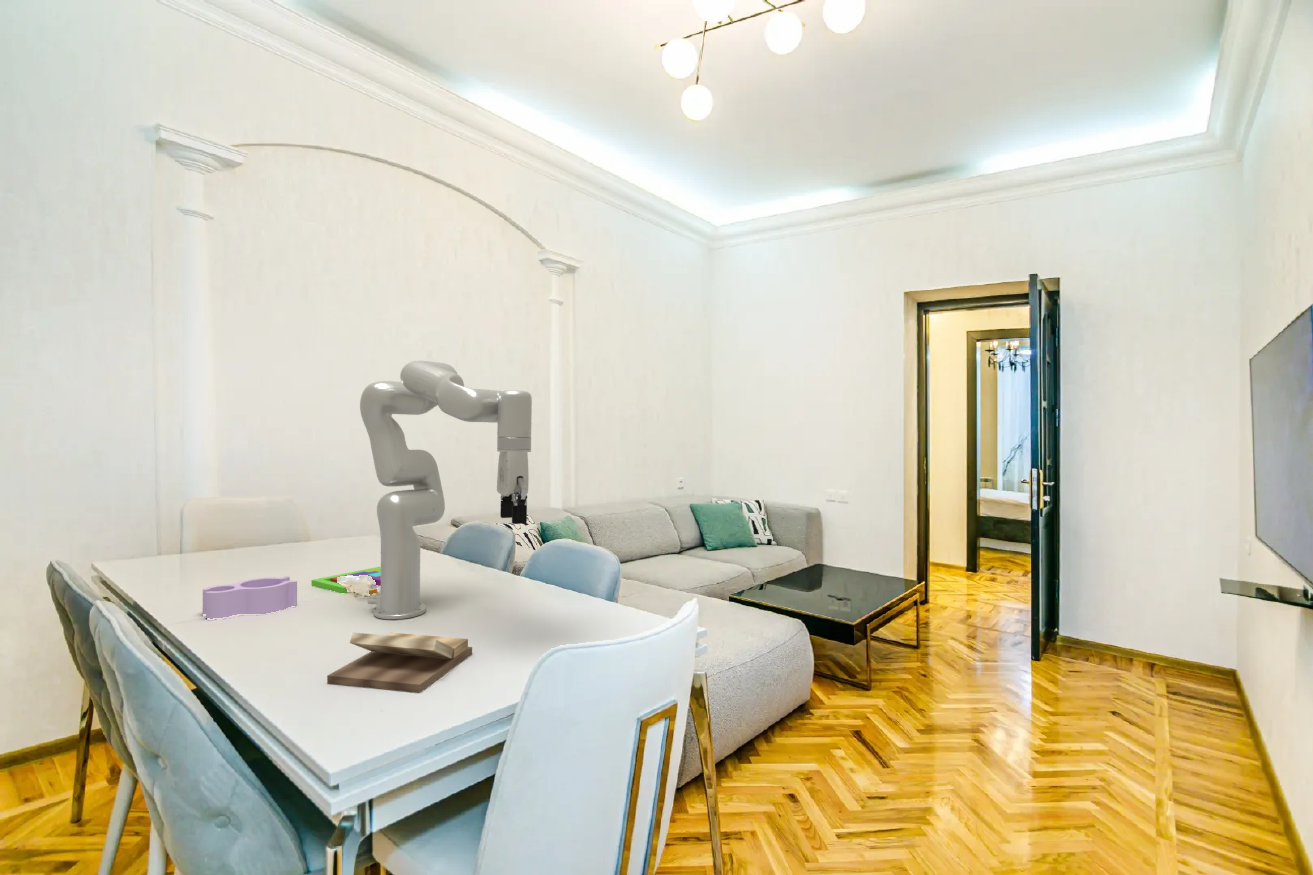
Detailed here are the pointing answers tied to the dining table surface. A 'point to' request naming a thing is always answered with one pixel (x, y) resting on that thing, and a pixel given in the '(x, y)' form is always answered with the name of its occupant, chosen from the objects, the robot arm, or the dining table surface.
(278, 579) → the lilac rounded hollowed piece
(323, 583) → the toy blocks
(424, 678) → the floor board
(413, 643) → the hinged plank
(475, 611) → the dining table surface
